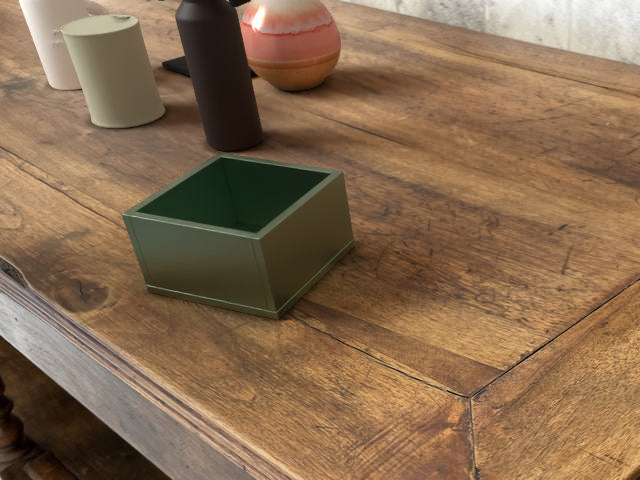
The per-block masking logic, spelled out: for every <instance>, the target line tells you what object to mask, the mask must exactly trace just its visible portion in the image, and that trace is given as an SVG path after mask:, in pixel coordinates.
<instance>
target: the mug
mask: <svg viewBox="0 0 640 480" xmlns="http://www.w3.org/2000/svg"><path fill="white" fill-rule="evenodd" d="M18 3H19V5H20V8H21V11H22V14H23V17H24V19H25V22H26V24H27V27H28V30H29V33H30V35H31V38H32V40H33V43H34V46H35V49H36V51H37V54H38V57H39V60H40V62H41V65H42V68H43V70H44V73H45V76H46V78H47V81H48V84H49V86H50V87H52V88H53V89H55V90H61V91H72V90H73V91H74V90H82V87H81V84H80V81H79V78H78V75H77V72H76V70H75V67H74V64H73V61H72V58H71V56H70V53H69V50H68V47H67V44H66V42H65V39H64V37H63V34H62V32H61V27H62V26H63V25H64V24H66V23H68V22H71V21H74V20H77V19H81V18H85V17H90V15H92V16H98V15H113V14H112V13H111V12H110V11H109V10H108V8H106V7H105V6H103V5H102V4H100V3H99V2H96V1H94V0H18Z"/></svg>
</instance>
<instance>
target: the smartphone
mask: <svg viewBox="0 0 640 480" xmlns="http://www.w3.org/2000/svg"><path fill="white" fill-rule="evenodd" d="M161 66H162V68H164V69H167V70H171V71H174V72H177V73H180V74H183V75H186V76H189V77H190V74H189V70H188V66H187V62H186V58H185V55H182V56H178V57H175V58H171V59H167V60H164V61H162V62H161ZM249 70H250V74H251V77H252V76H256V75H257V74H256V73H255V72H254V71H253V70H252V69H251V68H250V66H249Z"/></svg>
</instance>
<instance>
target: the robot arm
mask: <svg viewBox="0 0 640 480" xmlns="http://www.w3.org/2000/svg"><path fill="white" fill-rule="evenodd" d="M157 1H159V2H164V1H165V0H157ZM251 1H252V0H228V2H229V4H230V5H231V6H232V7H235V8H239V7H241V6H243V5H245V4H248V3H250V2H251Z"/></svg>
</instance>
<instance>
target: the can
mask: <svg viewBox="0 0 640 480" xmlns="http://www.w3.org/2000/svg"><path fill="white" fill-rule="evenodd" d="M61 32H62V34H63V37H64V39H65V42H66V44H67V47H68V50H69V53H70V56H71V58H72V61H73V64H74V67H75V70H76V72H77V75H78V78H79V81H80V84H81V87H82V89H81V90H82V92H83V95H84V98H85V101H86V105H87V108H88V111H89V115H90V120H91V122H92V124H93V125H95V126H97V127H100V128H103V129H128V128H134V127H139V126H144V125H147V124H149V123H150V124H151V123H152V122H155V121H157V120H159V119H160V118H161V117H163V116H164V114H165V113H166V108H165V106H164V104H163V102H162V97H161V95H160V92H159V88H158V86H157V82H156V78H155V76H154V72H153V68H152V64H151V61H150V58H149V54H148V51H147V47H146V43H145V39H144V37H143V36H144V35H143V32H142V28H141V25H140V19H139V18H138V17H136V16H134V15H128V14H115V13H114V14H112V15H98V16H94V15H92V16H89V17H85V18H81V19H77V20H74V21H71V22H68V23H66V24H64V25H63V26H62V27H61Z"/></svg>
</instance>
